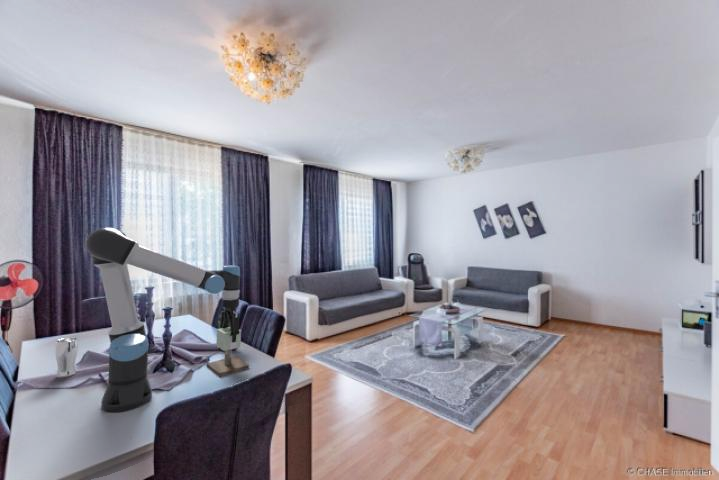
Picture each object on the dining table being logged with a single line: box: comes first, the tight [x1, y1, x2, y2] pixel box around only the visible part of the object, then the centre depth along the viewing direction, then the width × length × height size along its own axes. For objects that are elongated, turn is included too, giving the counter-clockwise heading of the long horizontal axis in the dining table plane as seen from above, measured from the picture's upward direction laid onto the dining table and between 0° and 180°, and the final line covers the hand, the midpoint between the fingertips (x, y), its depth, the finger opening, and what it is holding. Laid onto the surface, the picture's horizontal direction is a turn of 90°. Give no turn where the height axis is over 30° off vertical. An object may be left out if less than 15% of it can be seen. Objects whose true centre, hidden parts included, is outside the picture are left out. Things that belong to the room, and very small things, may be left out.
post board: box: [206, 349, 250, 378], centre depth 150 cm, size 14×14×12 cm
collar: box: [215, 327, 242, 352], centre depth 150 cm, size 8×8×8 cm
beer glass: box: [55, 336, 79, 379], centre depth 135 cm, size 7×7×15 cm
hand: (228, 345), depth 150 cm, fingers closed on collar, 8 cm apart
